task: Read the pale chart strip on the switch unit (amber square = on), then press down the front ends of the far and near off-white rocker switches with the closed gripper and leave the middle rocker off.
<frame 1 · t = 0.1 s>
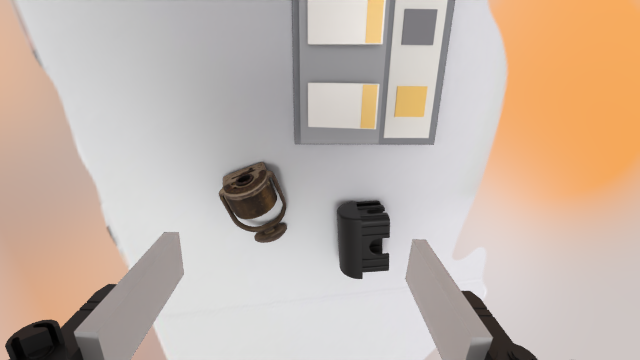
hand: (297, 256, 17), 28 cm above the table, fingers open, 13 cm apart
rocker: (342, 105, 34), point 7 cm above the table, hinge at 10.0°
end cap: (358, 226, 48), on the table
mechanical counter: (257, 199, 46), on the table
rocker middle: (345, 18, 31), point 7 cm above the table, hinge at 10.0°
switch unit: (370, 28, 38), on the table
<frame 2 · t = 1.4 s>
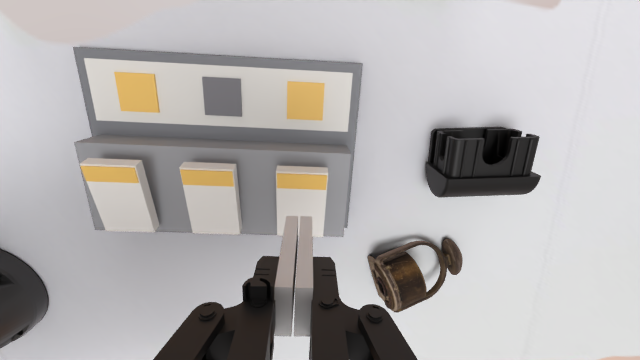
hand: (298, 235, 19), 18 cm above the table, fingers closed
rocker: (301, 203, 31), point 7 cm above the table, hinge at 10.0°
end cap: (463, 155, 37), on the table
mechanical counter: (409, 261, 42), on the table
rocker middle: (213, 200, 30), point 7 cm above the table, hinge at 10.0°
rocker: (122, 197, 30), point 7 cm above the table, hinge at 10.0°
switch unit: (228, 146, 35), on the table
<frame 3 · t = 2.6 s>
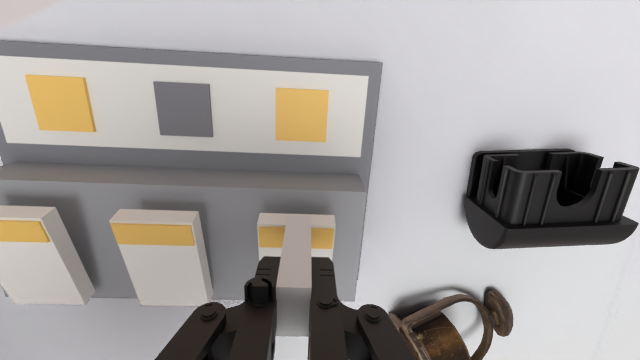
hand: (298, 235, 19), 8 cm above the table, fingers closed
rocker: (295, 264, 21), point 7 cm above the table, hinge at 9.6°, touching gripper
end cap: (512, 185, 28), on the table
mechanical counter: (441, 317, 33), on the table
rocker middle: (167, 262, 21), point 7 cm above the table, hinge at 10.0°
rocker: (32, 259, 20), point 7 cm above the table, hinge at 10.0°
switch unit: (197, 175, 26), on the table
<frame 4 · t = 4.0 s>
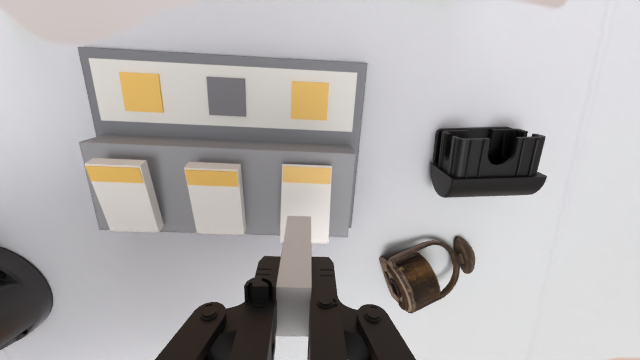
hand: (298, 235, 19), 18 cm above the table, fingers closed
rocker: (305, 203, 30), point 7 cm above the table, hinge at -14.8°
end cap: (467, 155, 37), on the table
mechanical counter: (421, 261, 42), on the table
rocker middle: (217, 200, 30), point 7 cm above the table, hinge at 10.0°
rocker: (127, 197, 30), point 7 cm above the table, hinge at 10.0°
switch unit: (232, 146, 35), on the table
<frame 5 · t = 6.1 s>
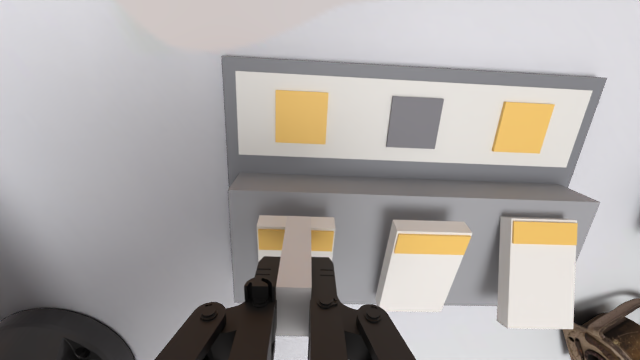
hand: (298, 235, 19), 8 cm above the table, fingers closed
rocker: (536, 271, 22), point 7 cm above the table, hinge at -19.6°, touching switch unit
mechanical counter: (607, 320, 34), on the table
rocker middle: (418, 270, 22), point 7 cm above the table, hinge at 10.0°
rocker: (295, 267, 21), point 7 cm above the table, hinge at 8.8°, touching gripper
switch unit: (398, 185, 27), on the table
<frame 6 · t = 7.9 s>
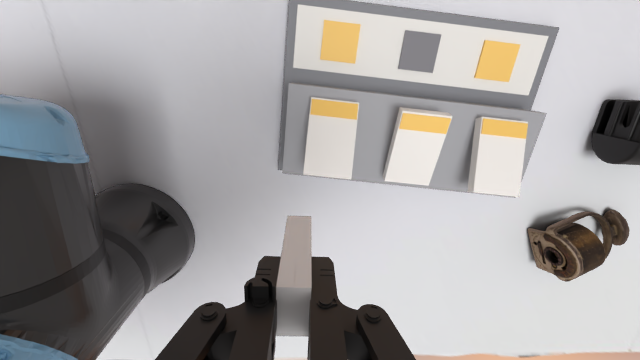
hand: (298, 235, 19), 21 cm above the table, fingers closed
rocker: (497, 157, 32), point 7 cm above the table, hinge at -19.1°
end cap: (626, 128, 38), on the table
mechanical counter: (566, 234, 43), on the table
rocker middle: (415, 148, 31), point 7 cm above the table, hinge at 10.0°
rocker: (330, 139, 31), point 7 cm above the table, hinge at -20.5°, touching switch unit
switch unit: (405, 103, 36), on the table
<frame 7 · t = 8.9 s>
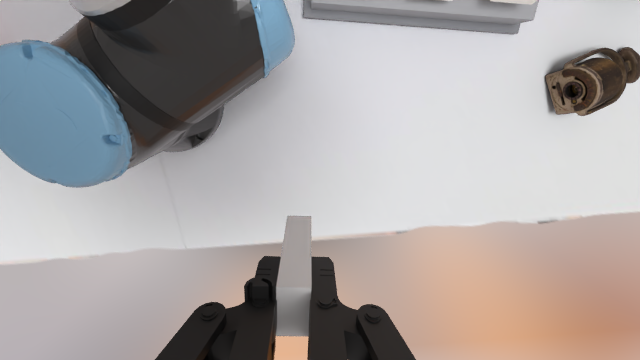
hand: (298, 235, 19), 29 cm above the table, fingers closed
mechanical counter: (581, 81, 45), on the table
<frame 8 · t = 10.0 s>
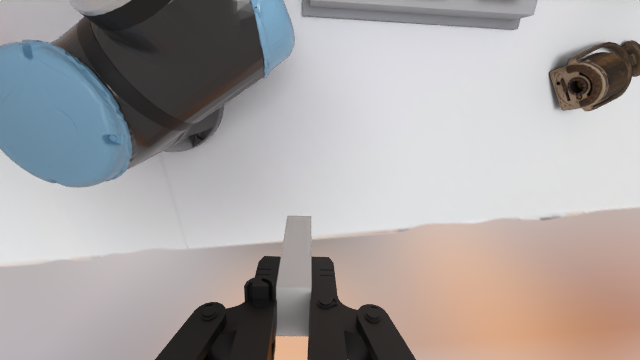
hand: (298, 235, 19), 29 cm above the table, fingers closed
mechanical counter: (586, 76, 45), on the table
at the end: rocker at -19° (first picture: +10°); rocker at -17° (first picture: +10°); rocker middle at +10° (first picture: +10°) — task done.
